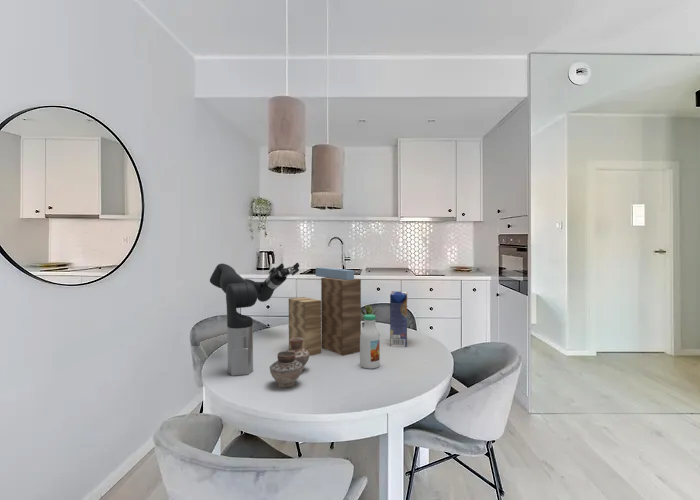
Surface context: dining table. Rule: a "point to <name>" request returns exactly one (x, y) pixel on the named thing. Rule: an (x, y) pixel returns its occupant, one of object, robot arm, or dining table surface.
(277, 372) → the pottery
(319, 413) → the dining table surface
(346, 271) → the rod
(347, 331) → the tall stand
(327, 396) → the dining table surface
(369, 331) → the milk bottle
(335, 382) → the dining table surface
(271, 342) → the dining table surface
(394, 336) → the juice carton
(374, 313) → the house plant
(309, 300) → the lower block
